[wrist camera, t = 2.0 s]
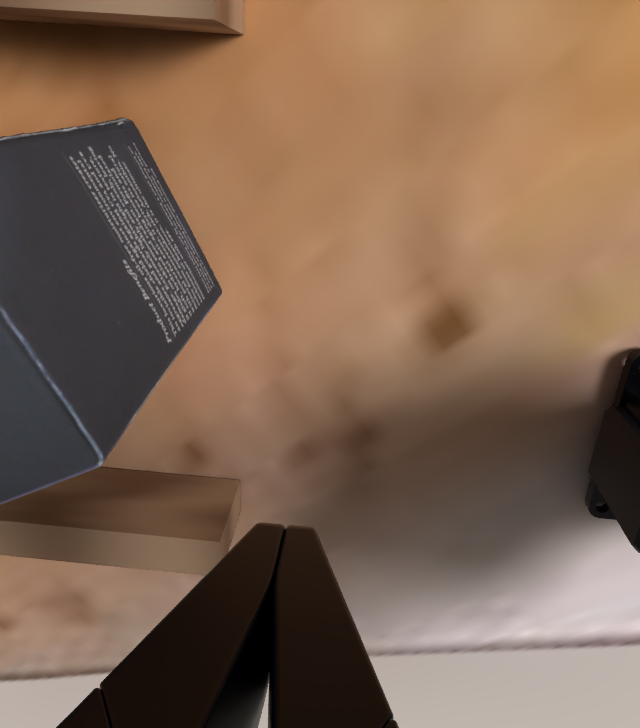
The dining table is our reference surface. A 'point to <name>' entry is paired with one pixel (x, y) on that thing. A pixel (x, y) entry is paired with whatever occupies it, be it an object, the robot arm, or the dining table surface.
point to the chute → (120, 486)
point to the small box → (86, 296)
